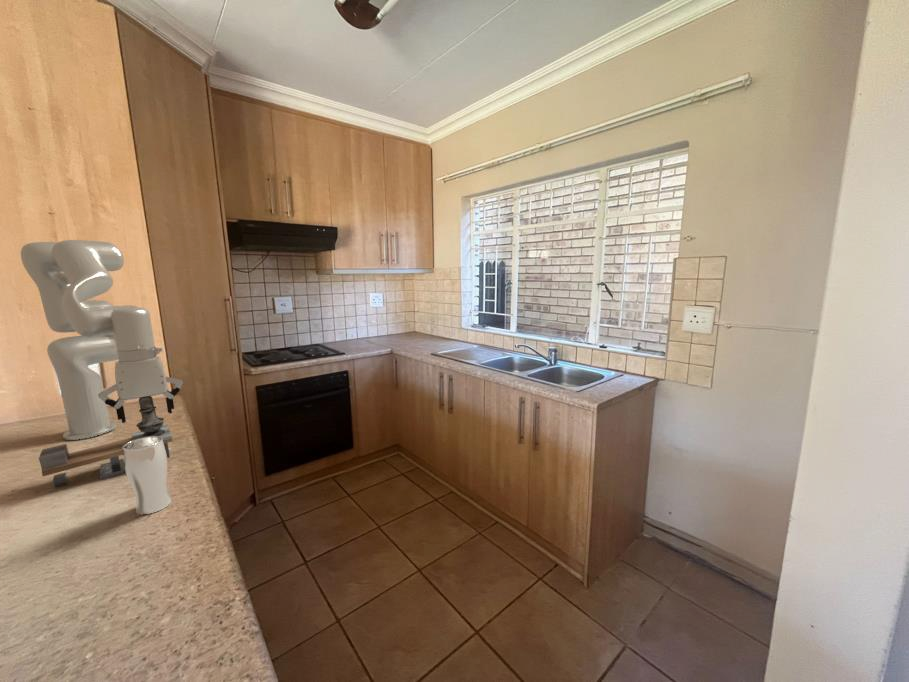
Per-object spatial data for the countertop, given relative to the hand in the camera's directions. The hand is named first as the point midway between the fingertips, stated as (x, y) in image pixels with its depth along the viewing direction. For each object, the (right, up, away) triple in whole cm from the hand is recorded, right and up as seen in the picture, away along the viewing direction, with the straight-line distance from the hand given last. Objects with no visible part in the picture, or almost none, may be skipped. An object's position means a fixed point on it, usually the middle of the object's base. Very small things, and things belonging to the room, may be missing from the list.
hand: (147, 416), depth 99 cm
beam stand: (-5, -13, -3) cm, 15 cm away
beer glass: (+17, -16, -19) cm, 30 cm away
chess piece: (+1, -5, +1) cm, 5 cm away
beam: (-5, -8, -4) cm, 11 cm away
